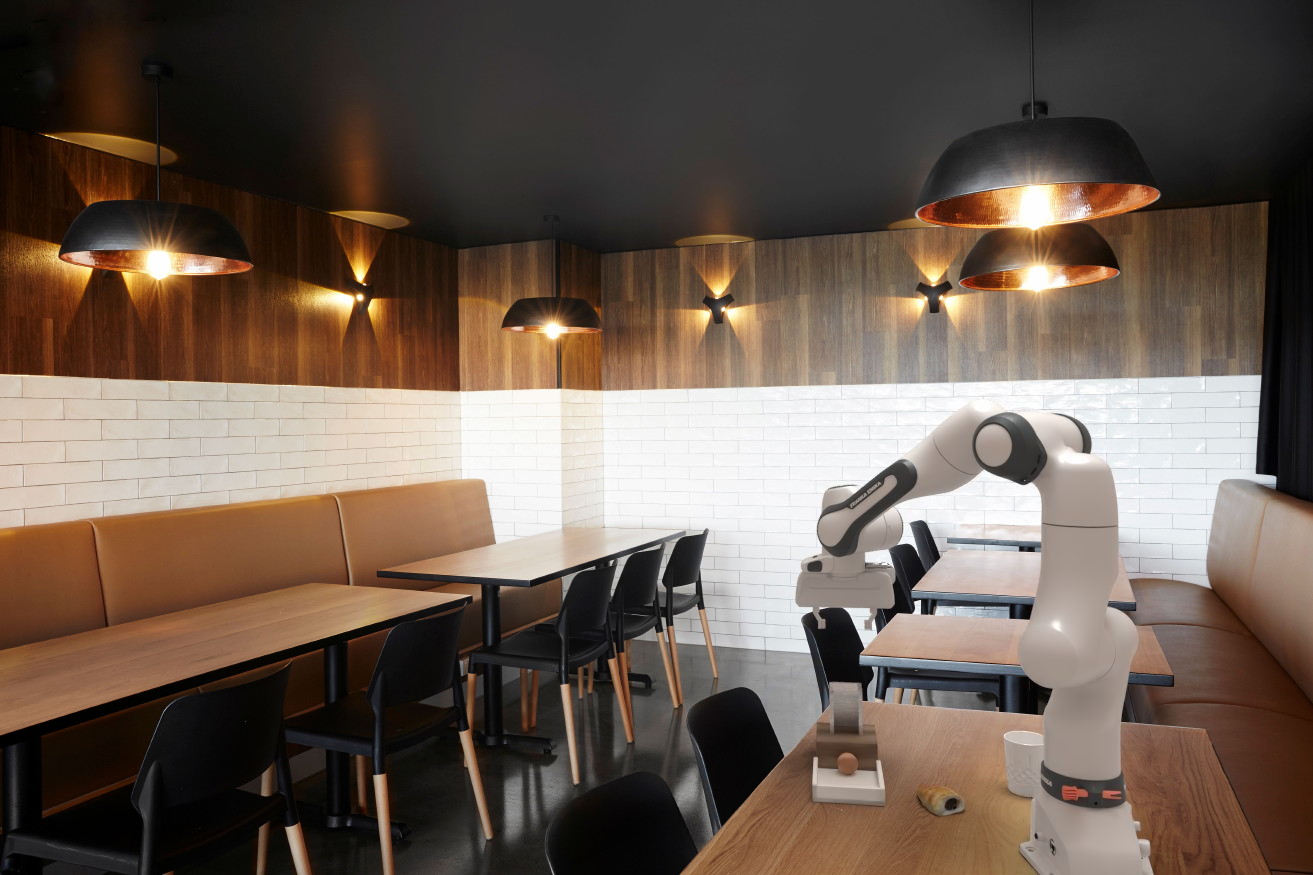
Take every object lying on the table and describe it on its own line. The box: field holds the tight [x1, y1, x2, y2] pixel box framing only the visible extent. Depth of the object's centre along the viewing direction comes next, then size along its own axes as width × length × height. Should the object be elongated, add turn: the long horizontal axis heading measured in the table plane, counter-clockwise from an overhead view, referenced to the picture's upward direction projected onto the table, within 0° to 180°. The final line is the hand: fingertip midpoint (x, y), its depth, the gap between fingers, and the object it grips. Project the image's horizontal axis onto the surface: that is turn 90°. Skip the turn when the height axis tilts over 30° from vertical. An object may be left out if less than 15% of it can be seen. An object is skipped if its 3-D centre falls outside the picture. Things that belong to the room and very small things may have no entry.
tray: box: [811, 756, 886, 807], centre depth 169 cm, size 15×13×3 cm
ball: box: [837, 753, 858, 774], centre depth 174 cm, size 4×4×4 cm
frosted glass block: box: [828, 681, 864, 735], centre depth 185 cm, size 6×7×9 cm
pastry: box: [916, 784, 966, 817], centre depth 161 cm, size 9×7×4 cm
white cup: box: [1003, 730, 1044, 799], centre depth 166 cm, size 8×8×10 cm
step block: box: [815, 721, 879, 771], centre depth 183 cm, size 12×12×6 cm
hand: (844, 628), depth 185 cm, fingers open, 8 cm apart
